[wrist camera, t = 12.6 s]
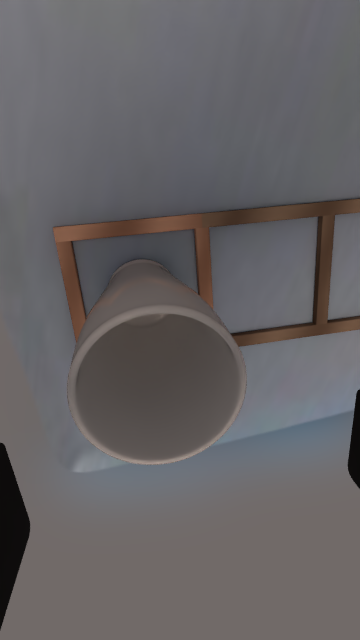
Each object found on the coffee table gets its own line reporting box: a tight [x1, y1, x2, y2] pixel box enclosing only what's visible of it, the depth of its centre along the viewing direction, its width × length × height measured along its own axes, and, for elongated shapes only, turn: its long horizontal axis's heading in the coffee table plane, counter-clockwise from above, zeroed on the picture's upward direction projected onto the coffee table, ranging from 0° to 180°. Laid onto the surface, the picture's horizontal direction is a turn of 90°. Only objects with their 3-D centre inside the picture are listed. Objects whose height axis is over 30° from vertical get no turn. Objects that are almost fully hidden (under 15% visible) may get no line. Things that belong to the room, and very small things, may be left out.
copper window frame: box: [53, 198, 360, 347], centre depth 27 cm, size 31×11×1 cm, turn 95°
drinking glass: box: [67, 259, 247, 465], centre depth 19 cm, size 7×7×15 cm
